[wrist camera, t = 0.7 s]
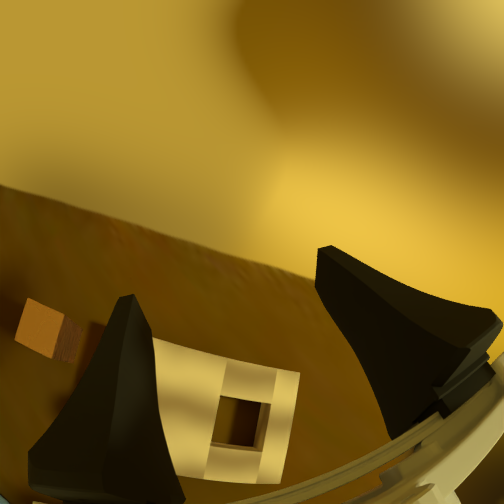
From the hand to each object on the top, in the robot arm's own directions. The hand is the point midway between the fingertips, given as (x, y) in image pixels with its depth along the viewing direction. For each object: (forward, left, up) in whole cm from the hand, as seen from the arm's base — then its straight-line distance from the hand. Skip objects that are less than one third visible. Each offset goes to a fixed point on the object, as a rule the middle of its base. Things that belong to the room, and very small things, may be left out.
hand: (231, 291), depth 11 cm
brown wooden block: (-3, +11, -18) cm, 21 cm away
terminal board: (-6, -3, -18) cm, 19 cm away
